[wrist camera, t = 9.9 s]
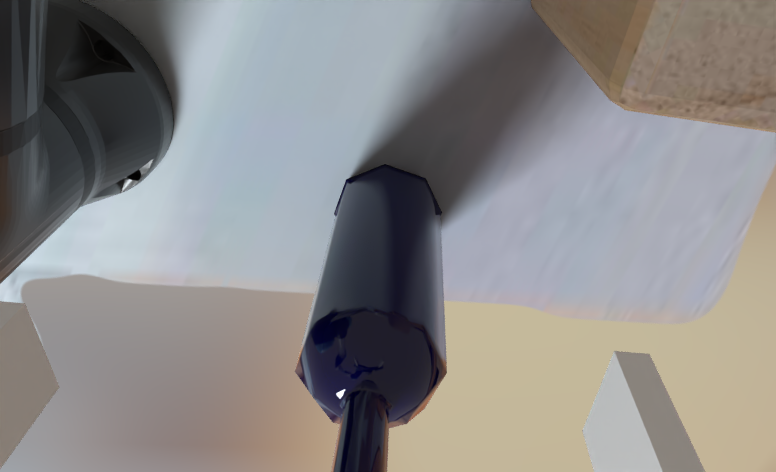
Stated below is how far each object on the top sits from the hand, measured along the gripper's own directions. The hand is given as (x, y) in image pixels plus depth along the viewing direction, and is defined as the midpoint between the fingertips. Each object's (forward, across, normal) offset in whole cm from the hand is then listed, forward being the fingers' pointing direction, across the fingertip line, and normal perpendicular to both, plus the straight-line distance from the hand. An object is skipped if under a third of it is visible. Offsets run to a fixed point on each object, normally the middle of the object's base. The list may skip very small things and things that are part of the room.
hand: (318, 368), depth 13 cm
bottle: (+31, +1, -14) cm, 34 cm away
